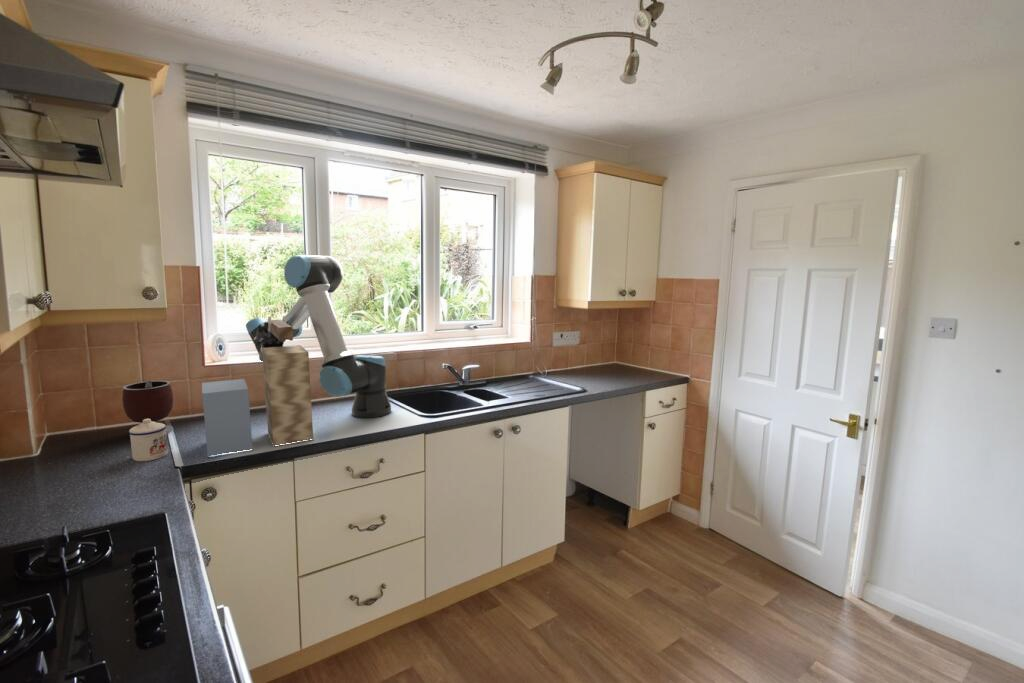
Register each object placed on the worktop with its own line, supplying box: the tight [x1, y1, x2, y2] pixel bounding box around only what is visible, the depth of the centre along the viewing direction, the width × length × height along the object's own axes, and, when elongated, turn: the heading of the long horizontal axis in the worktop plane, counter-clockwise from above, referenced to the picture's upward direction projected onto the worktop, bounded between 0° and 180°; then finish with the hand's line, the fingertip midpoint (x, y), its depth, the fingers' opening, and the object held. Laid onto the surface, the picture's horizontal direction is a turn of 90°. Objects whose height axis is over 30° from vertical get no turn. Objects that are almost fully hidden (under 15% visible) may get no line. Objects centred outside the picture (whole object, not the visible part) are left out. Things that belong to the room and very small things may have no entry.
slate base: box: [201, 378, 254, 457], centre depth 157 cm, size 12×16×20 cm
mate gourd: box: [122, 380, 174, 434], centre depth 169 cm, size 16×14×20 cm
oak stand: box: [262, 345, 314, 446], centre depth 165 cm, size 12×16×30 cm
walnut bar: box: [270, 319, 294, 340], centre depth 169 cm, size 4×26×4 cm, turn 32°
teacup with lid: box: [128, 419, 169, 462], centre depth 150 cm, size 12×9×12 cm
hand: (277, 319), depth 173 cm, fingers closed on walnut bar, 4 cm apart
